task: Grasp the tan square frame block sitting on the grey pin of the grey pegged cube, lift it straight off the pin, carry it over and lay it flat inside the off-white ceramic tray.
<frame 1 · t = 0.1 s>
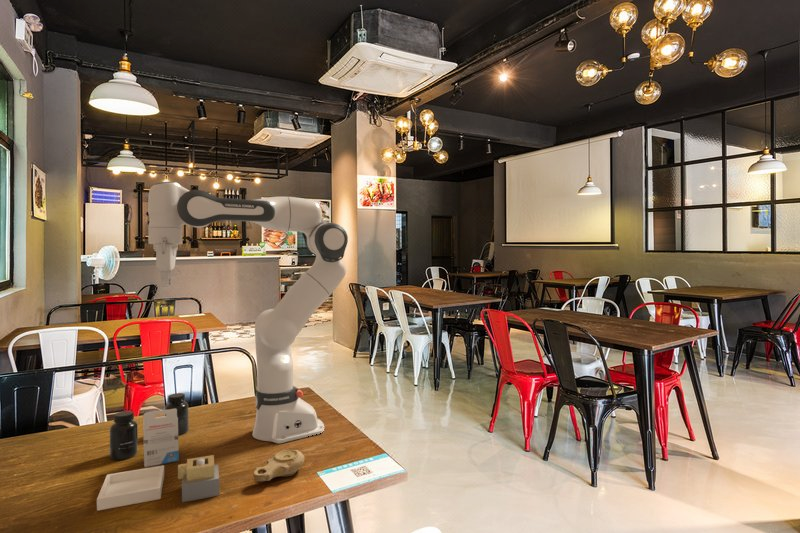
hand: (166, 285, 135), 48 cm above the table, fingers open, 8 cm apart
oil lamp: (281, 477, 119), on the table
ink box: (161, 461, 128), on the table
tray: (133, 491, 112), on the table
supplement bottle: (124, 456, 132), on the table
tan square frame block: (200, 474, 112), point 4 cm above the table, touching grey pegged cube
grey pegged cube: (200, 490, 112), on the table
supplement bottle 2: (177, 432, 149), on the table
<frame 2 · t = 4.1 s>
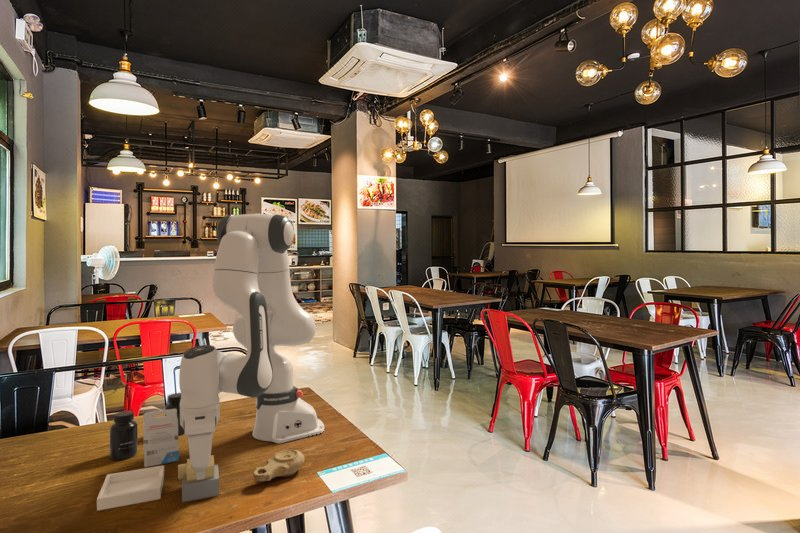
hand: (200, 471, 112), 5 cm above the table, fingers closed on tan square frame block, 6 cm apart
tan square frame block: (200, 474, 112), point 4 cm above the table, touching gripper, grey pegged cube
everything else where it was.
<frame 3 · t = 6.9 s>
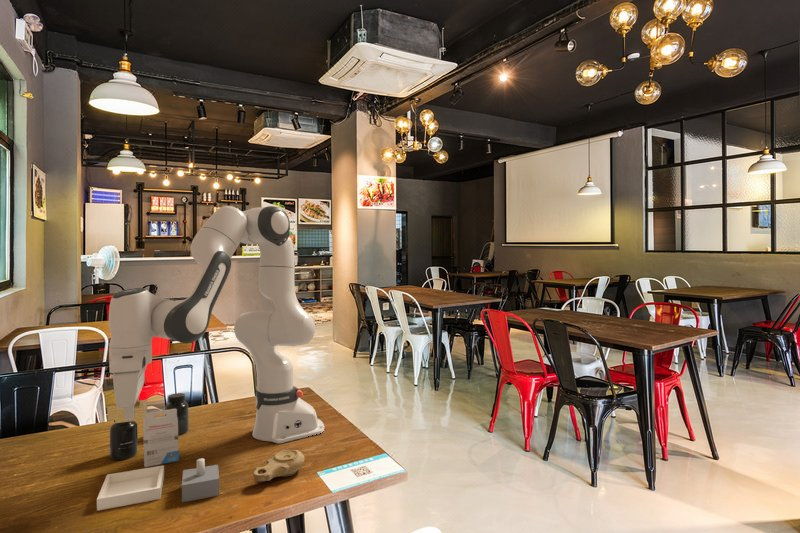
hand: (131, 414, 111), 19 cm above the table, fingers closed on tan square frame block, 6 cm apart
tan square frame block: (131, 417, 111), point 18 cm above the table, touching gripper
everything else where it was.
when the fingers open (4 cm above the table, at t = 10.1 s): tan square frame block drops 2 cm, resting on tray.
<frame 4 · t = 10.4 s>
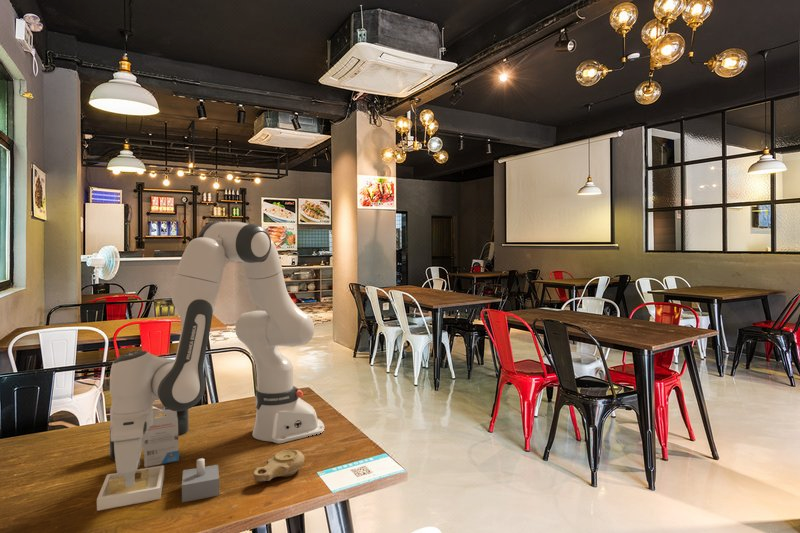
hand: (133, 476, 111), 4 cm above the table, fingers open, 8 cm apart
tan square frame block: (133, 489, 111), point 1 cm above the table, touching tray
everything else where it was.
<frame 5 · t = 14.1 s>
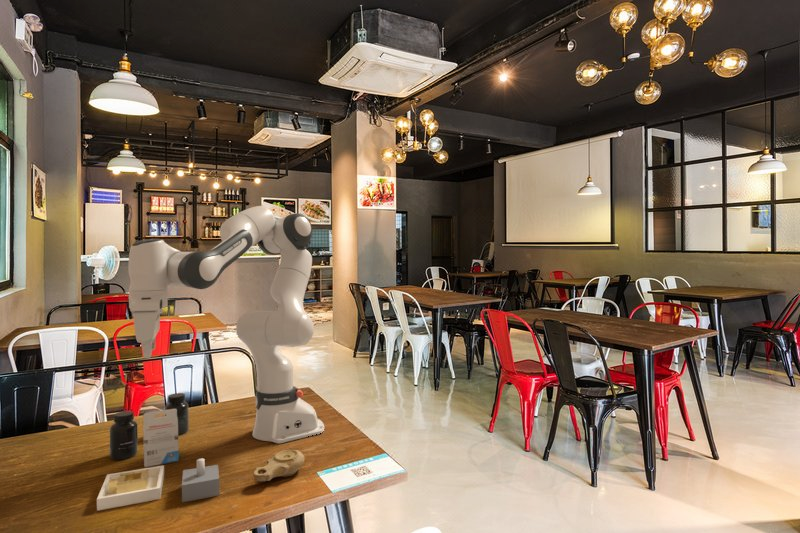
hand: (149, 353, 121), 31 cm above the table, fingers open, 8 cm apart
nothing on the table moved.
at the end: tan square frame block inside the target area on the tray (0.0 cm from its centre), point 0.6 cm above the tray's base; tan square frame block tilted 0°; the gripper is holding nothing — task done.
